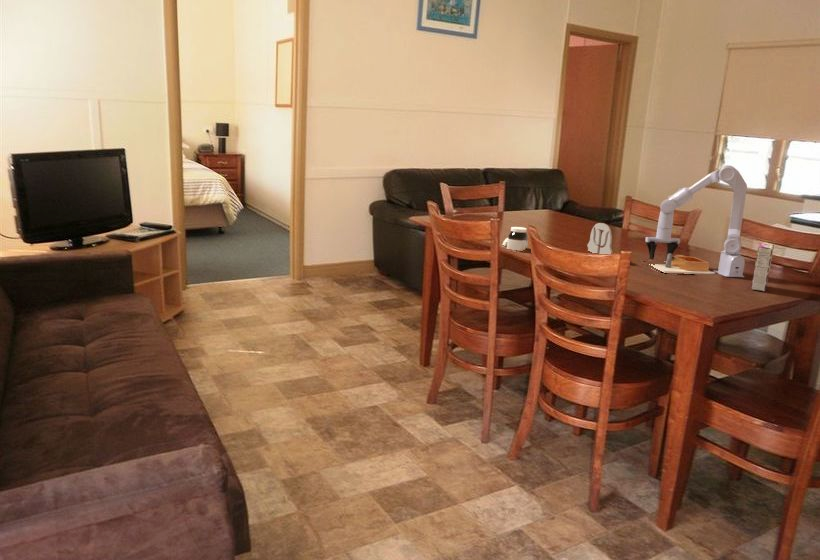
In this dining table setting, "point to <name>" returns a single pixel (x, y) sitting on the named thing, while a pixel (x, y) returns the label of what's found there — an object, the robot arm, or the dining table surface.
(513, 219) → the dining table surface
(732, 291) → the dining table surface
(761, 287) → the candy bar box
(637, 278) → the dining table surface
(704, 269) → the wooden link
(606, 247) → the ornament
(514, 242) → the spread jar
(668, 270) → the board
